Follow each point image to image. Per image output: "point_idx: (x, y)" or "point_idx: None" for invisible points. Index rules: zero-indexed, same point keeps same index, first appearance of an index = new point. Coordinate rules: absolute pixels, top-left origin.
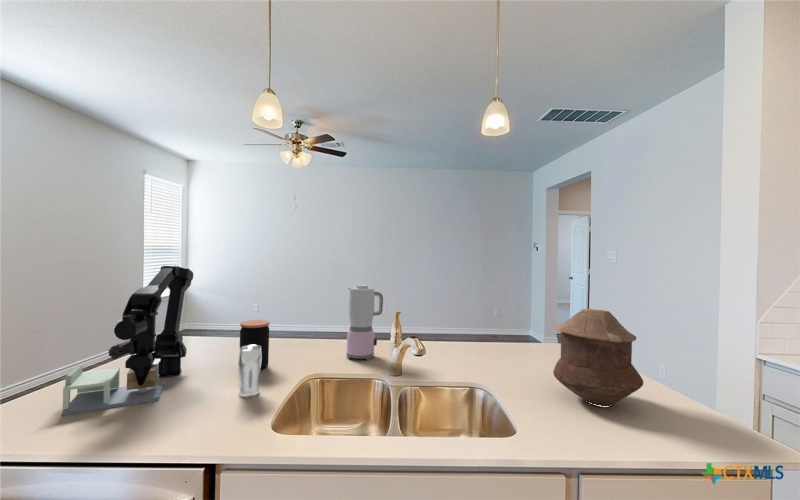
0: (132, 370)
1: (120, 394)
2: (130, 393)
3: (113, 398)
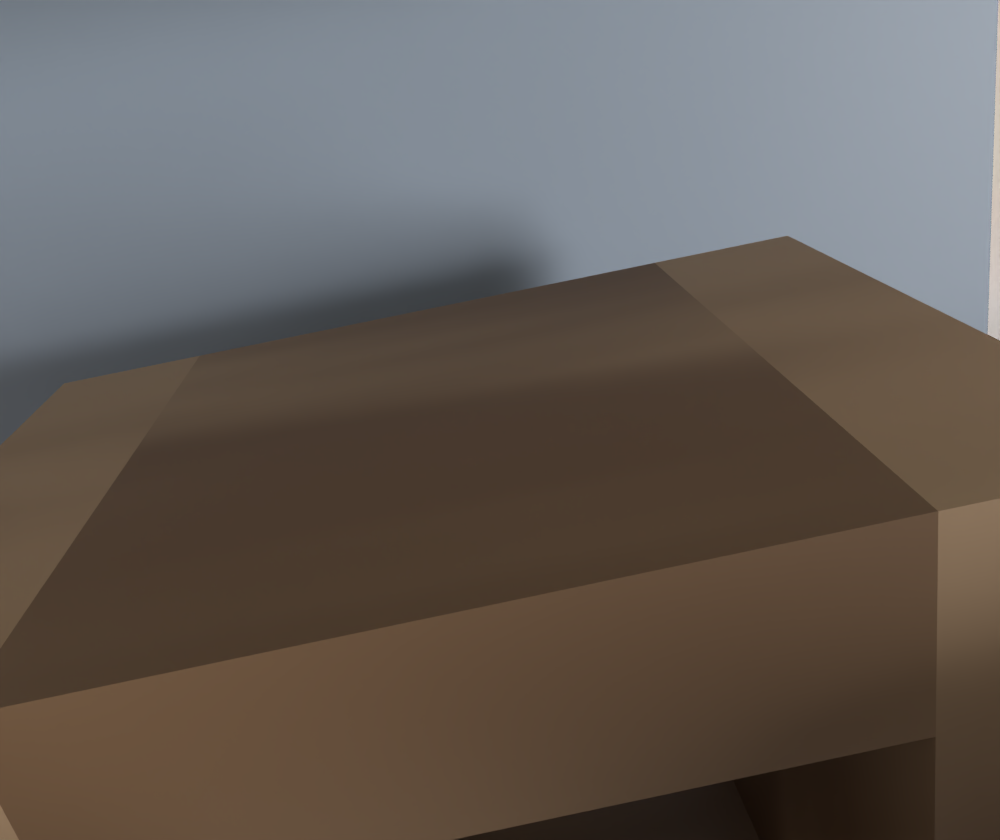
0: (329, 803)
1: (389, 74)
2: (408, 302)
3: (111, 2)
